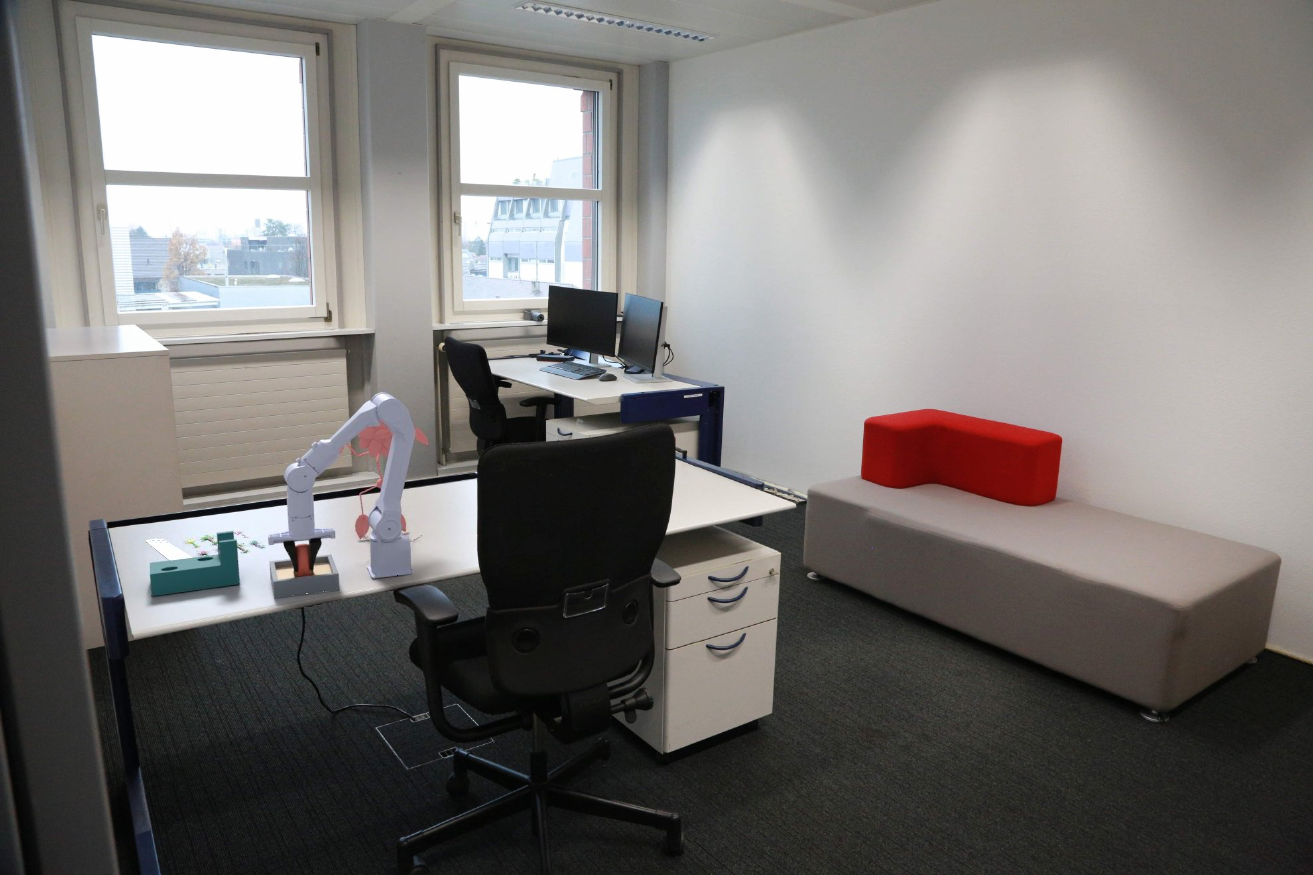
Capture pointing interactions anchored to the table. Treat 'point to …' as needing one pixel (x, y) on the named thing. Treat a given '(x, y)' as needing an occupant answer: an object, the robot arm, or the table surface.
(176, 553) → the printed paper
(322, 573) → the box
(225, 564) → the teal l-shaped bracket
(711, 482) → the table surface
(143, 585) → the table surface
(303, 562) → the peg
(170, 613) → the table surface
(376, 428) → the figurine
